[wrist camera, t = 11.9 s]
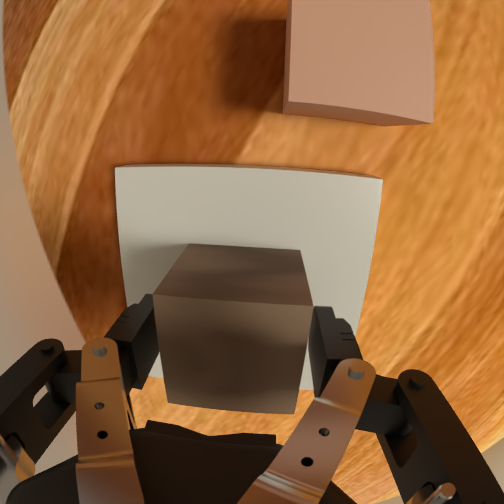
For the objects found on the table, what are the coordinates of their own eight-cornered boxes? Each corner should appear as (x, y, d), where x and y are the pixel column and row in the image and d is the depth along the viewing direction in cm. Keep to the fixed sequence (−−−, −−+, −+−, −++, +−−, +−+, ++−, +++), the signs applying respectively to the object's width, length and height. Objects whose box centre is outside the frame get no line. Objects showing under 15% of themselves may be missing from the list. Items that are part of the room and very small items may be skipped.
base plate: (372, 175, 14) (383, 179, 13) (336, 373, 18) (340, 389, 17) (128, 164, 15) (114, 167, 13) (147, 359, 19) (140, 374, 17)
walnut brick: (300, 249, 14) (313, 305, 9) (289, 341, 16) (294, 414, 11) (189, 243, 14) (152, 294, 10) (192, 334, 16) (167, 402, 11)
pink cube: (386, 33, 12) (429, -1, 7) (385, 126, 13) (433, 123, 9) (286, 18, 12) (292, -30, 7) (282, 113, 14) (288, 101, 9)
